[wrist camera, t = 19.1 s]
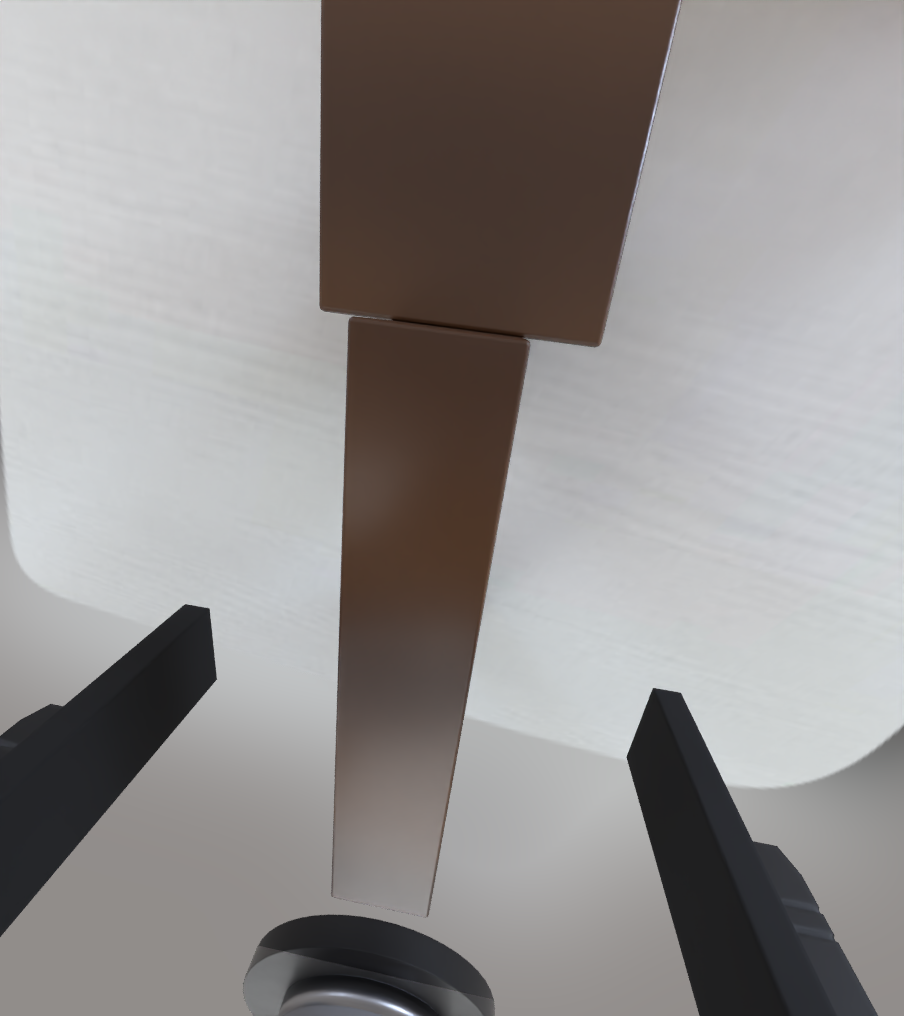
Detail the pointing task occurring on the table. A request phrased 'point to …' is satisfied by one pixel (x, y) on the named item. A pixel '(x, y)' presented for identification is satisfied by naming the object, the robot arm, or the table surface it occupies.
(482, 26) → the brown wooden mallet
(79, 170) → the table surface
